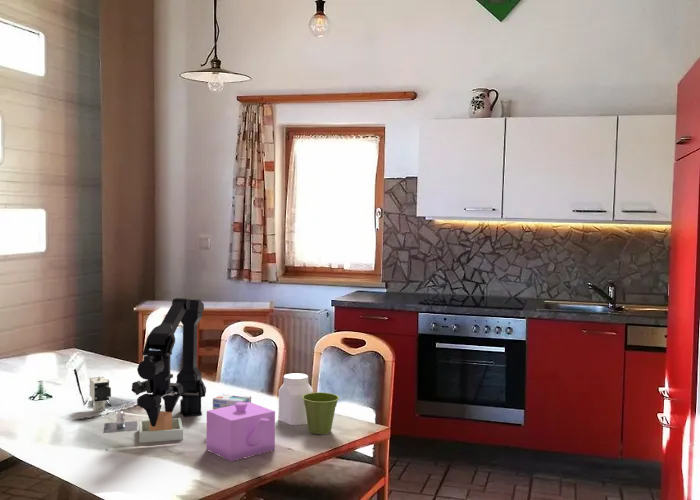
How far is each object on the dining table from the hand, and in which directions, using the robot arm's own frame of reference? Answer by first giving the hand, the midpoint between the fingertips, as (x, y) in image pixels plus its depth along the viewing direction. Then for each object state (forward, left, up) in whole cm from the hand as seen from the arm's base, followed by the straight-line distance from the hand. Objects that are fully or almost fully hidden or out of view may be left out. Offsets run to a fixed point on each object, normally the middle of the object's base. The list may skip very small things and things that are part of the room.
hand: (160, 421), depth 220 cm
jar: (-44, -7, -5) cm, 45 cm away
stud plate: (+12, -11, -4) cm, 17 cm away
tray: (0, 0, -4) cm, 4 cm away
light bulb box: (-22, -1, -5) cm, 23 cm away
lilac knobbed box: (-23, +19, -5) cm, 30 cm away
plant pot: (-49, +7, -5) cm, 50 cm away
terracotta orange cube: (0, 0, -4) cm, 4 cm away
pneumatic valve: (+19, -33, -5) cm, 38 cm away
